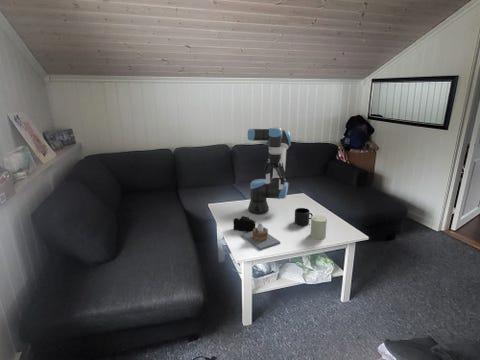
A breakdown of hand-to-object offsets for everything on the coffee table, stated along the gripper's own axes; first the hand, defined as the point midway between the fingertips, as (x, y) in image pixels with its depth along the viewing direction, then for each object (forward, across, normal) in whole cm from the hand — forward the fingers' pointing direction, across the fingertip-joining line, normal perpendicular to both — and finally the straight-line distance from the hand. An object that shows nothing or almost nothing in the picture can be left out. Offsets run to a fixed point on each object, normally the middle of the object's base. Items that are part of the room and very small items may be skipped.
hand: (274, 186), depth 187 cm
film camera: (+27, -6, -18) cm, 33 cm away
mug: (+27, +9, +18) cm, 34 cm away
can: (+27, +27, +13) cm, 40 cm away
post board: (+27, +12, -19) cm, 35 cm away
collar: (+25, +12, -19) cm, 34 cm away
